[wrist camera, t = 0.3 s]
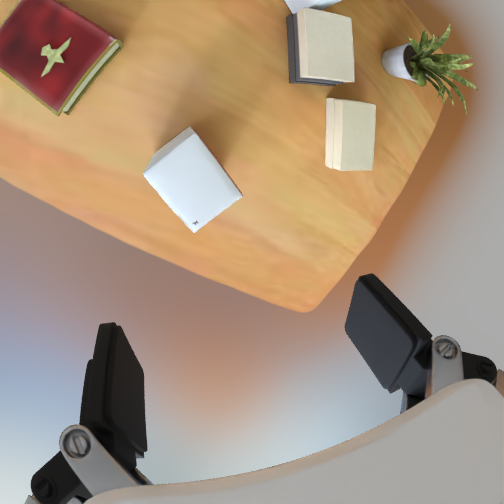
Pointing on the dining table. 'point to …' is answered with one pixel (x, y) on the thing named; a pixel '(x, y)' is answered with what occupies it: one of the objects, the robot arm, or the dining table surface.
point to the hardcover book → (53, 52)
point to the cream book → (325, 45)
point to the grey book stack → (295, 59)
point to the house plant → (426, 64)
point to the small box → (191, 179)
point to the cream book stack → (349, 134)
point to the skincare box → (309, 4)
